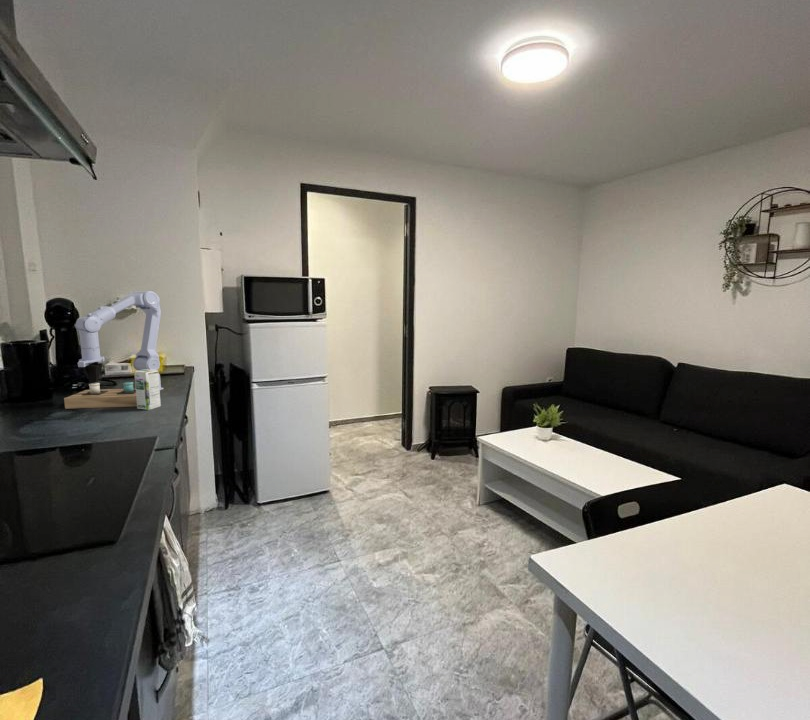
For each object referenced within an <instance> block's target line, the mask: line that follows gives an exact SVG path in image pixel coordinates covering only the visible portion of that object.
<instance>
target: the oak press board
mask: <svg viewBox="0 0 810 720" xmlns="http://www.w3.org/2000/svg"><path fill="white" fill-rule="evenodd" d="M133 389H134V392H129V393H124V388H115V389H114V388H112V389H110V388H108V389H106V388H105V389H100V393H96V394H90V389H84V390H81V391H79V392H77V393H74V394H72V395H69V396H67V397H64V398H63V400H64V401H63V402H64V408H65V409H67V410H68V409H70V410H71V409H90V408H91V409H96V408H121V407H122V408H124V407H137V398H136V388H133Z"/></svg>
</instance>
